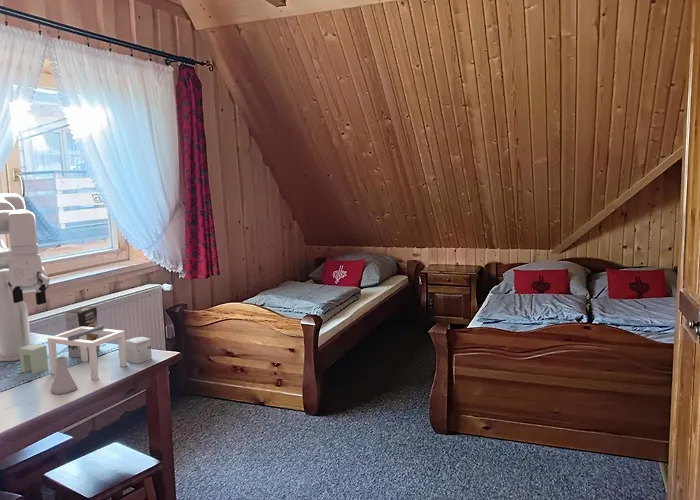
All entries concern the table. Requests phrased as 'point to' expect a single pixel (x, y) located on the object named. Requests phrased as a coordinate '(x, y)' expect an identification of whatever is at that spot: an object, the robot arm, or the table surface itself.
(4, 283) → the robot arm
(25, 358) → the slotted cream block
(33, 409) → the table surface
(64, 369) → the flask
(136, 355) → the skincare box
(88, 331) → the white square frame
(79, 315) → the coffee box
